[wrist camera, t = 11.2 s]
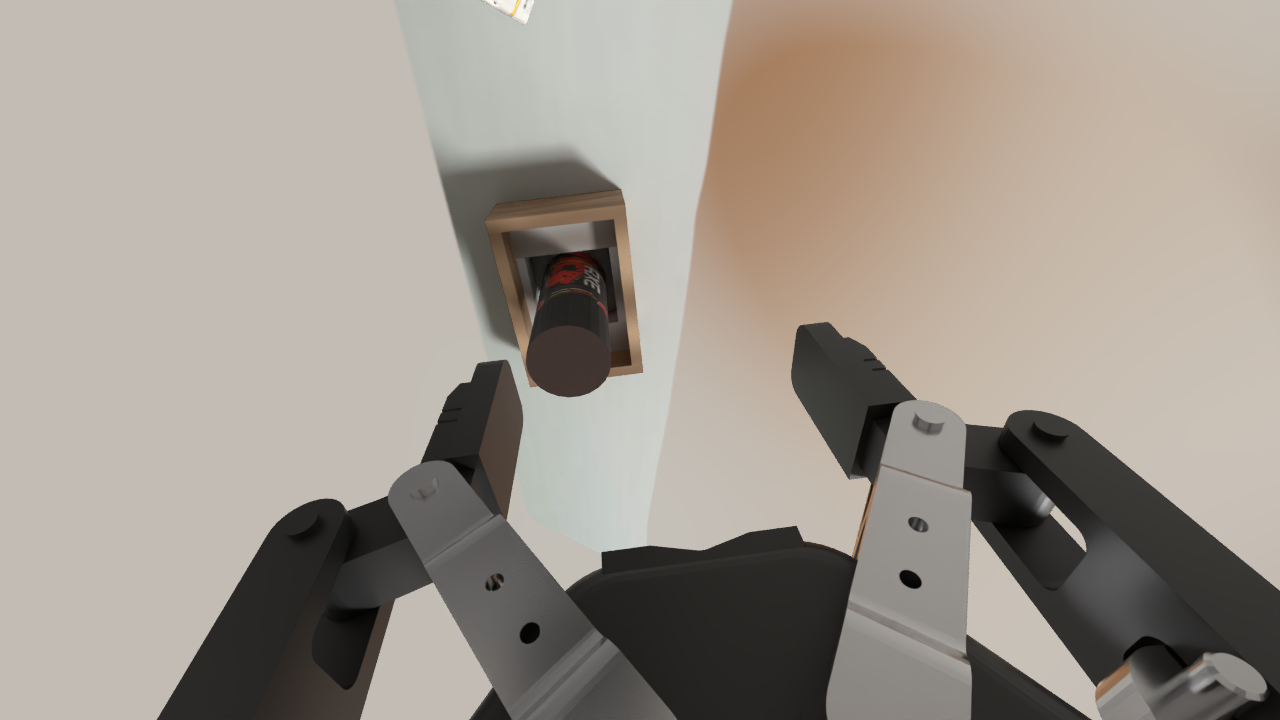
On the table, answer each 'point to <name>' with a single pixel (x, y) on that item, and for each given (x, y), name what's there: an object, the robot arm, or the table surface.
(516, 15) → the ink cartridge box
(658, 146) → the table surface
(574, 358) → the deodorant
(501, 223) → the light wooden box
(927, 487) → the robot arm
